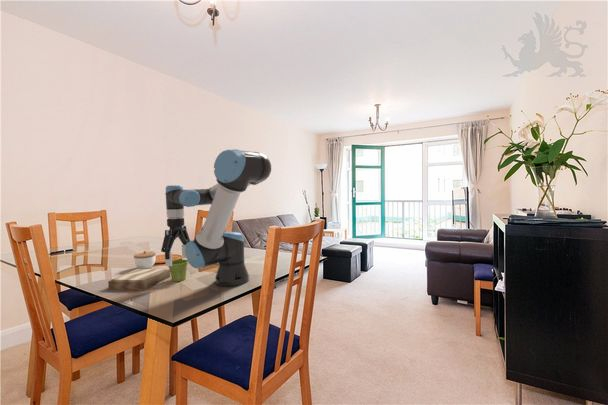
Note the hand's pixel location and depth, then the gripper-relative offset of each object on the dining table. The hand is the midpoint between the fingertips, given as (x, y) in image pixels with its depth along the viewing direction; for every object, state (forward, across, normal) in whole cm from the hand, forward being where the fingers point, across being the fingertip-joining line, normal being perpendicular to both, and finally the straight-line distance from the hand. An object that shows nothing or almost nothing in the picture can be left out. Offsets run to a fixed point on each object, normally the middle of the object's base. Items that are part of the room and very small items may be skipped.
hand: (177, 261), depth 137 cm
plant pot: (+9, 0, 0) cm, 9 cm away
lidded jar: (+10, -18, -30) cm, 37 cm away
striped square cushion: (+9, +5, -16) cm, 19 cm away
